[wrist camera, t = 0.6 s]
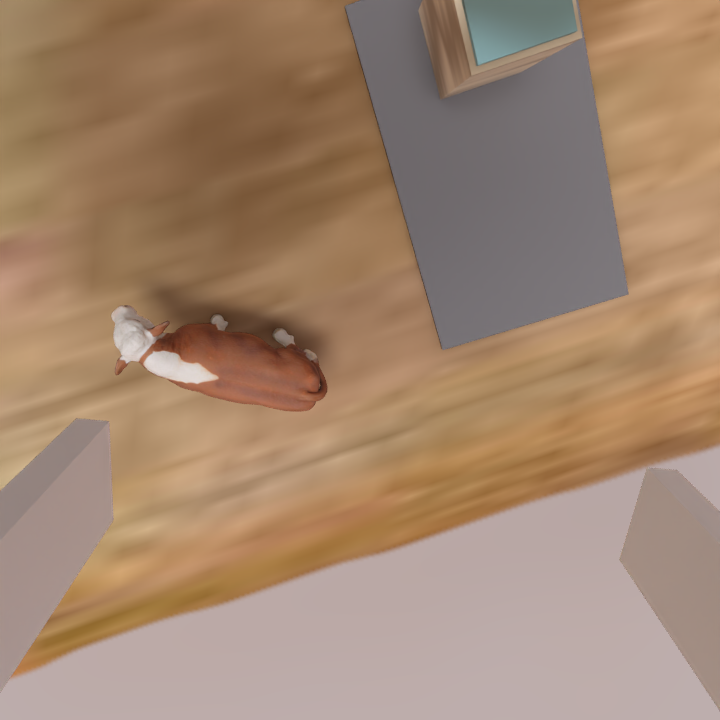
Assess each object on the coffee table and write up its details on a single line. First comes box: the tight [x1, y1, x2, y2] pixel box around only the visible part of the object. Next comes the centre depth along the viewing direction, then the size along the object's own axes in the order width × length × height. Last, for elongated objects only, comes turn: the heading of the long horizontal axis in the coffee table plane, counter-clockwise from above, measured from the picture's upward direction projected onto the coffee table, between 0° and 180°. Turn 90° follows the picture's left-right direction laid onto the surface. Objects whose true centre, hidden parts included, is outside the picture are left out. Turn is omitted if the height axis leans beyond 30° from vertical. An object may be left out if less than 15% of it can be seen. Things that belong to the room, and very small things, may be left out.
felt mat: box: [345, 0, 628, 350], centre depth 37 cm, size 22×13×1 cm, turn 18°
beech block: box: [418, 0, 582, 100], centre depth 30 cm, size 5×5×10 cm
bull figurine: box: [111, 305, 327, 411], centre depth 37 cm, size 4×13×8 cm, turn 69°
